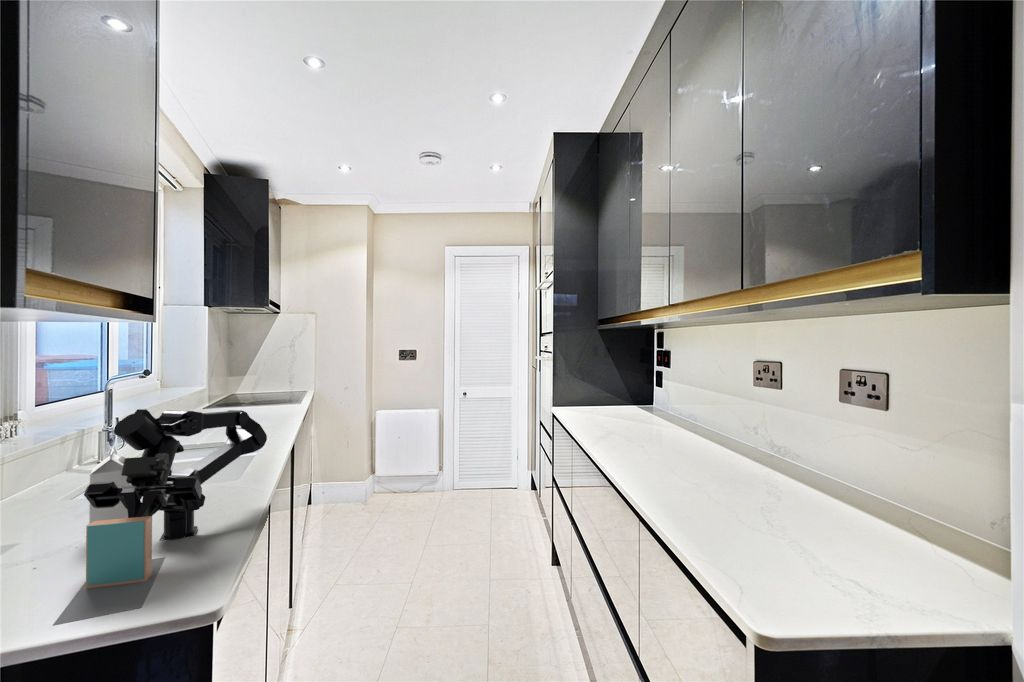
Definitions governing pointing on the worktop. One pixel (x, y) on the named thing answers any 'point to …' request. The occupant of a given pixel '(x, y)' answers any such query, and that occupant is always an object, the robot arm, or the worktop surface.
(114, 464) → the milk carton
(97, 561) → the tile
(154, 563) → the mat
